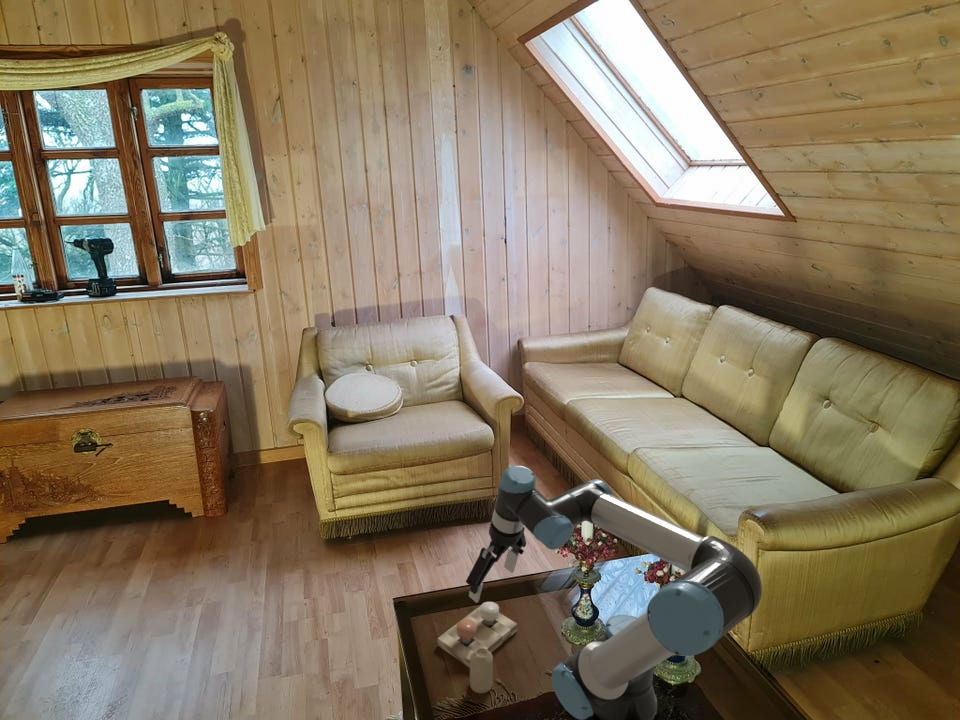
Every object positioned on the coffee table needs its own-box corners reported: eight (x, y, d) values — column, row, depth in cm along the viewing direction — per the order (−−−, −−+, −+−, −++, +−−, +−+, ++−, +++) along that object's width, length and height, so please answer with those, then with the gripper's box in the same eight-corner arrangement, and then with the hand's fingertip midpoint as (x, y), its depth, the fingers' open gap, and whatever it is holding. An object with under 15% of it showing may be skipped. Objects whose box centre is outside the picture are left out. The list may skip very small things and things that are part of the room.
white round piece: (502, 622, 191) (502, 607, 189) (490, 632, 187) (490, 617, 186) (488, 613, 194) (488, 599, 192) (476, 623, 191) (476, 608, 189)
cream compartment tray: (517, 630, 191) (517, 623, 190) (471, 669, 178) (471, 661, 178) (483, 610, 198) (483, 603, 198) (437, 645, 186) (437, 638, 185)
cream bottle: (490, 695, 171) (490, 663, 167) (467, 691, 172) (467, 659, 168) (494, 677, 176) (494, 646, 172) (472, 674, 177) (472, 642, 173)
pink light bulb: (480, 640, 185) (480, 625, 183) (466, 651, 181) (466, 636, 179) (465, 631, 188) (465, 616, 186) (452, 641, 184) (452, 626, 183)
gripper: (527, 490, 176) (511, 549, 187) (459, 540, 159) (446, 601, 170) (551, 507, 172) (533, 566, 184) (484, 560, 155) (469, 622, 166)
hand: (491, 583), depth 177 cm, fingers open, 13 cm apart
